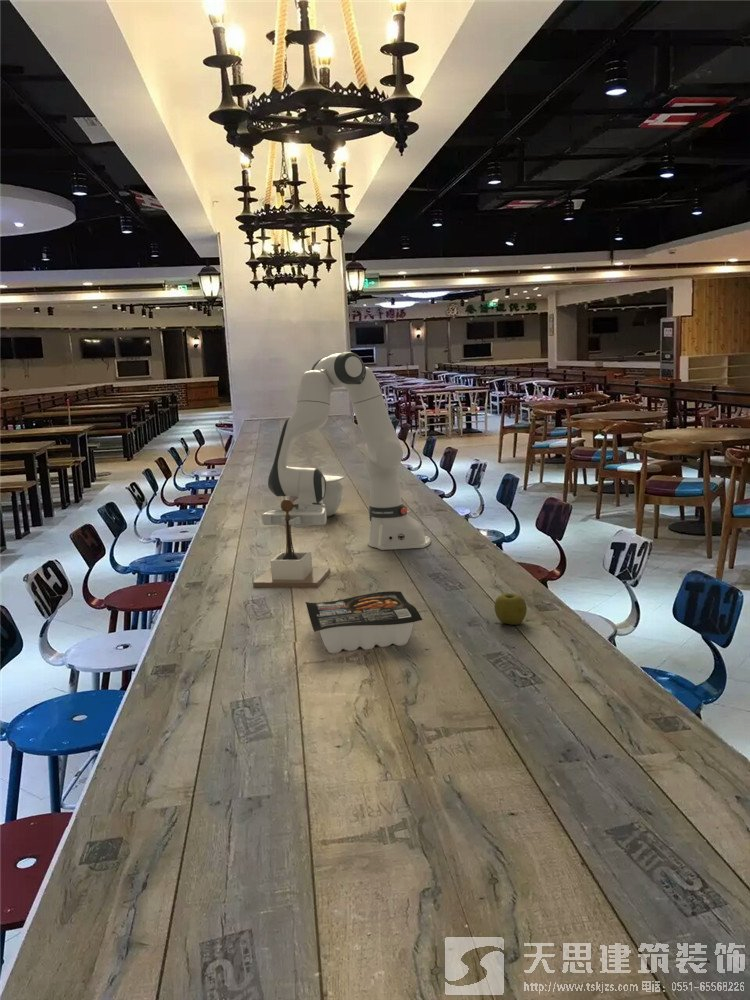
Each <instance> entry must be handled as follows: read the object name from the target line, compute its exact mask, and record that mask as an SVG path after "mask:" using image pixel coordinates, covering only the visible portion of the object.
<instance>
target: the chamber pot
mask: <svg viewBox="0 0 750 1000" xmlns="http://www.w3.org/2000/svg"><path fill="white" fill-rule="evenodd" d="M321 473H322V474H323V476H324V477H325V481H326V492H325V496H324V498H323V504H325V506H326V515H327V518H328V517H330V516H333V515H335V514H336V513H337V511H338V510H339V508H340V506H341V504H342V502H343V496H344V487H343V485H342V483H341V480H344V479H345V478H346V475H345V474H342V473H340V472H334V471H321ZM285 498H286V499H288V500H290V501H292V502H293V501H295V500H297V499H298V498H299V497H297V496H285Z"/></svg>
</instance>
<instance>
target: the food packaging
mask: <svg viewBox="0 0 750 1000" xmlns="http://www.w3.org/2000/svg"><path fill="white" fill-rule="evenodd" d="M304 603H305V604H306V609H307V612H308V616H309V620H310V623H311V627H312V630H313V632H314V633H316V632H319V634H320V636H321V637H320V638H321V639H322V642H323V644H324V646H325V648H326V649H327V652H328V653H329V654H339V653H341V651H342V650H345V651H348V652H351V651H356V650H357V649H358V648H361V649H363V650H372V649H374V648H375V646H378V647H381V648H385V647H389V646H390V645H392V644H393V645H395V646H398V647H400V646H405V645H406V644H407V643H408V641H409V639H410V637H411V634H412V631H413V625H414V623H417V622H419V621H423V618H422V615H421V614H420V613H419V611H418V609H417V608H416V607H415V606H414V605H413V604H411V603H410V602H408V600H407V599H406V598H405V596H404V594H403V593H402V591H397V590H396V591H395V590H391V591H390V590H389V591H387V590H386V591H379V592H378V591H377V592H372V593H366V594H363V595H358V596H352V597H351V596H350V597H348V598H347V597H346V598H342V599H338V600H332V601H325V602H324V601H322V602H307V601H305V602H304Z"/></svg>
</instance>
